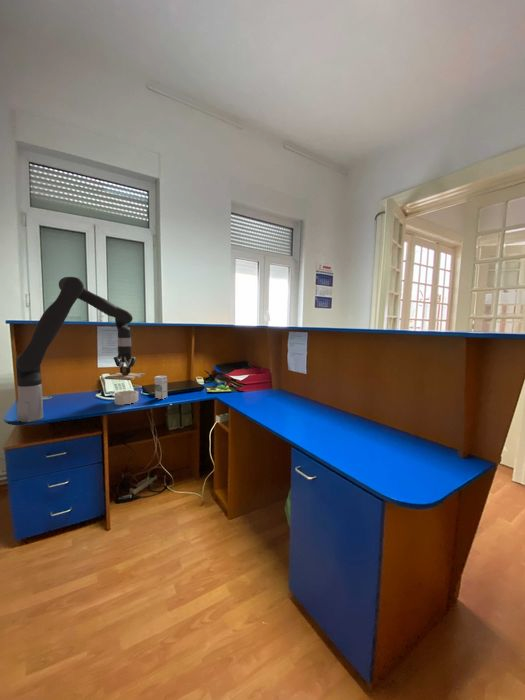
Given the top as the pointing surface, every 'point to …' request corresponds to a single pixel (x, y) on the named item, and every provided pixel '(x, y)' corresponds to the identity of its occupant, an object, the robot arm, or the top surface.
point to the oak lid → (124, 375)
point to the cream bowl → (126, 397)
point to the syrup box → (160, 387)
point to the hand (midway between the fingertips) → (125, 373)
